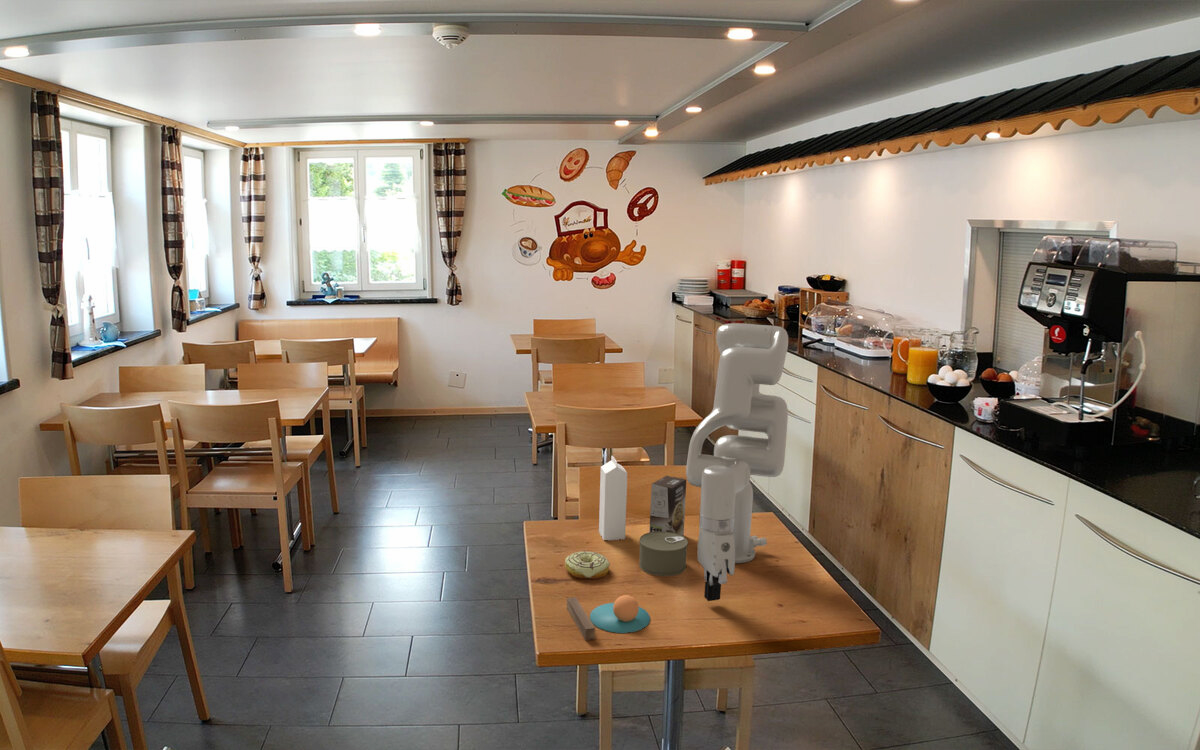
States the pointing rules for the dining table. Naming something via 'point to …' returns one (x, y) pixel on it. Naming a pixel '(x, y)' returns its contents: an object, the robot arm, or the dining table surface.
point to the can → (663, 553)
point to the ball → (625, 608)
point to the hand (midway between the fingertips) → (712, 598)
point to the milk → (612, 501)
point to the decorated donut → (587, 565)
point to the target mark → (617, 620)
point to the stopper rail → (580, 618)
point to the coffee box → (668, 505)
